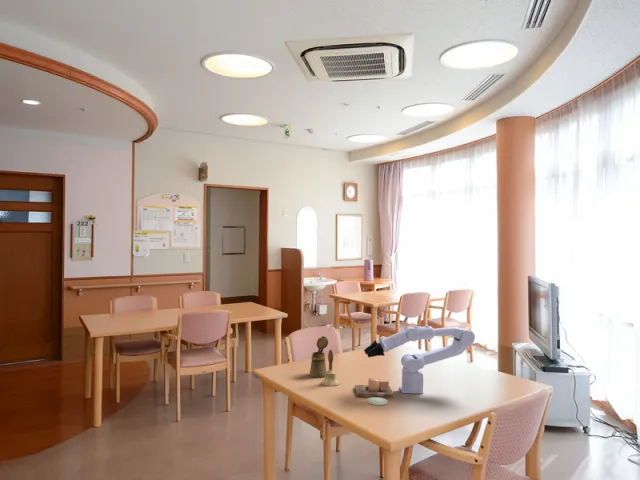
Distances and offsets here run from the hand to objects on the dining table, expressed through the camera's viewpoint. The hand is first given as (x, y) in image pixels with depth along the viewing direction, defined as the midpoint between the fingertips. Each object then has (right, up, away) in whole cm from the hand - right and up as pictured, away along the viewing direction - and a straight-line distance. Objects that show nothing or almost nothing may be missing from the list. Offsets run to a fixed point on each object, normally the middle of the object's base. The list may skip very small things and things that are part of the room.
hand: (366, 353), depth 205 cm
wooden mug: (-21, -17, +24) cm, 36 cm away
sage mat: (+3, -17, -14) cm, 22 cm away
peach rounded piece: (+5, -17, -3) cm, 18 cm away
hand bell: (-16, -17, +9) cm, 25 cm away
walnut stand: (+3, -17, -3) cm, 17 cm away
